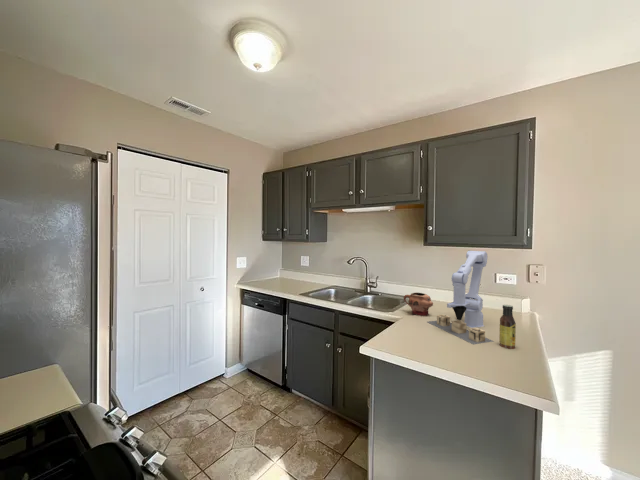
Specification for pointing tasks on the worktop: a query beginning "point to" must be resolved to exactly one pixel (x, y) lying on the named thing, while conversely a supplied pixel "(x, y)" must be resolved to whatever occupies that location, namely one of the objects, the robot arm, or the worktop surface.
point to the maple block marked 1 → (443, 320)
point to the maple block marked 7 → (476, 334)
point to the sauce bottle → (507, 328)
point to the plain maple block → (458, 327)
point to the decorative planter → (419, 303)
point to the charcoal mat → (462, 335)
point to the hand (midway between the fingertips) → (459, 319)
